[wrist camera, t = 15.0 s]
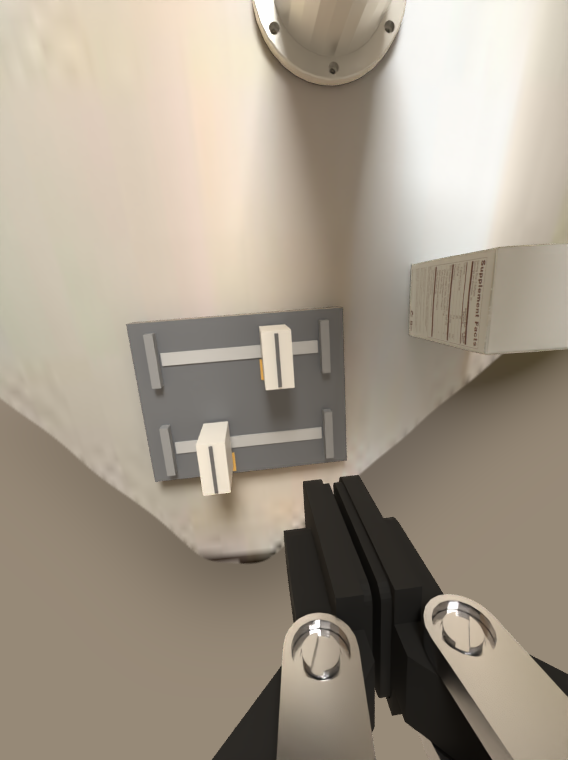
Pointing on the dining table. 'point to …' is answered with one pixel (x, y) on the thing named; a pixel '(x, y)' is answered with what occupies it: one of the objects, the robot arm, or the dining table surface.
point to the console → (240, 390)
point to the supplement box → (493, 299)
